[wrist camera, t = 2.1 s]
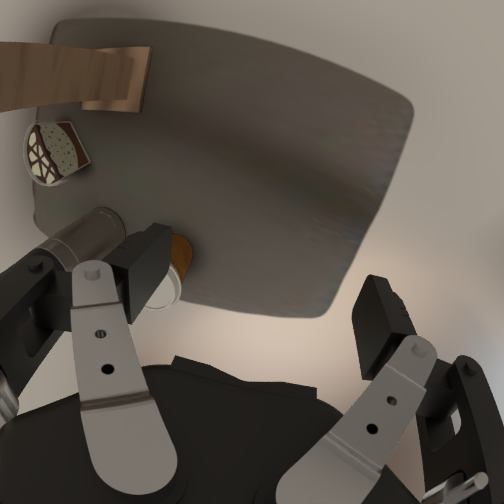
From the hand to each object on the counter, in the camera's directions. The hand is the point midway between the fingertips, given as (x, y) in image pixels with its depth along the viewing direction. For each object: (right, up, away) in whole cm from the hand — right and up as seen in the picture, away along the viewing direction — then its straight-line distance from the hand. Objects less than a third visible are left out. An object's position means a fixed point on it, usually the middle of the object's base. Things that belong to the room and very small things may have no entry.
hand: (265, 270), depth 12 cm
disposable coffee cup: (-14, +1, +40) cm, 43 cm away
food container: (-34, +20, +34) cm, 52 cm away
